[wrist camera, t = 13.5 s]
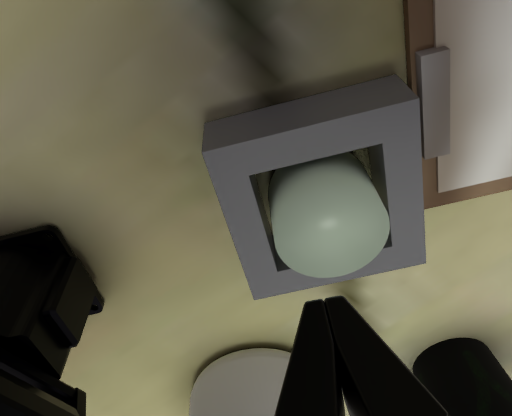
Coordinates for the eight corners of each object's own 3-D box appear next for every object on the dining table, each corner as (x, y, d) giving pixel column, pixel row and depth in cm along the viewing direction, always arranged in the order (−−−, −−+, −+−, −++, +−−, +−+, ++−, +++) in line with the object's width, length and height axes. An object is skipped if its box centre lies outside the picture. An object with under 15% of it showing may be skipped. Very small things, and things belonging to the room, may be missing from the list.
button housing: (251, 262, 26) (254, 300, 24) (204, 123, 21) (201, 152, 19) (406, 227, 25) (426, 263, 23) (396, 74, 20) (419, 98, 18)
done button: (279, 240, 24) (287, 287, 21) (257, 160, 21) (262, 202, 18) (373, 219, 24) (393, 264, 21) (362, 134, 21) (385, 172, 18)
